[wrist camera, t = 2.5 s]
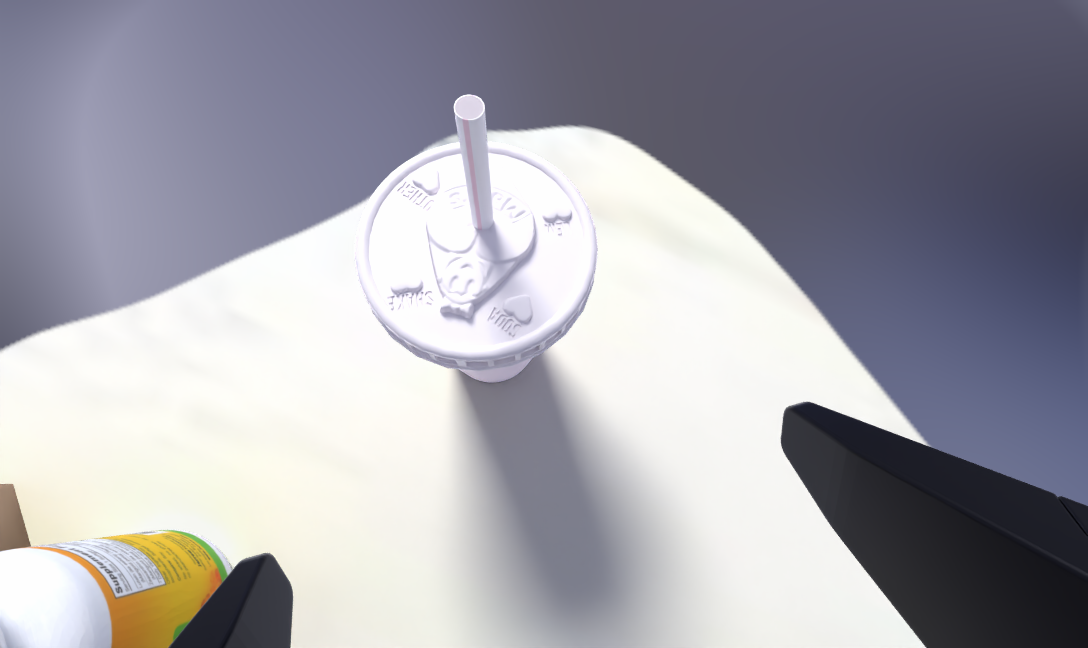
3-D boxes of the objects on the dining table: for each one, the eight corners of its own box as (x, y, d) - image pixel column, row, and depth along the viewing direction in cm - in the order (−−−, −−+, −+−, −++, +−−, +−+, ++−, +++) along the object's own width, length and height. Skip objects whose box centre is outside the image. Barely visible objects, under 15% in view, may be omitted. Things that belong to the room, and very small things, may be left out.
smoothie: (578, 291, 23) (664, 35, 10) (547, 430, 21) (602, 343, 8) (442, 259, 23) (347, -37, 10) (399, 395, 22) (211, 251, 8)
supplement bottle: (165, 726, 18) (-215, 991, 8) (51, 634, 18) (-422, 789, 9) (271, 579, 19) (45, 669, 10) (162, 499, 20) (-147, 514, 11)
